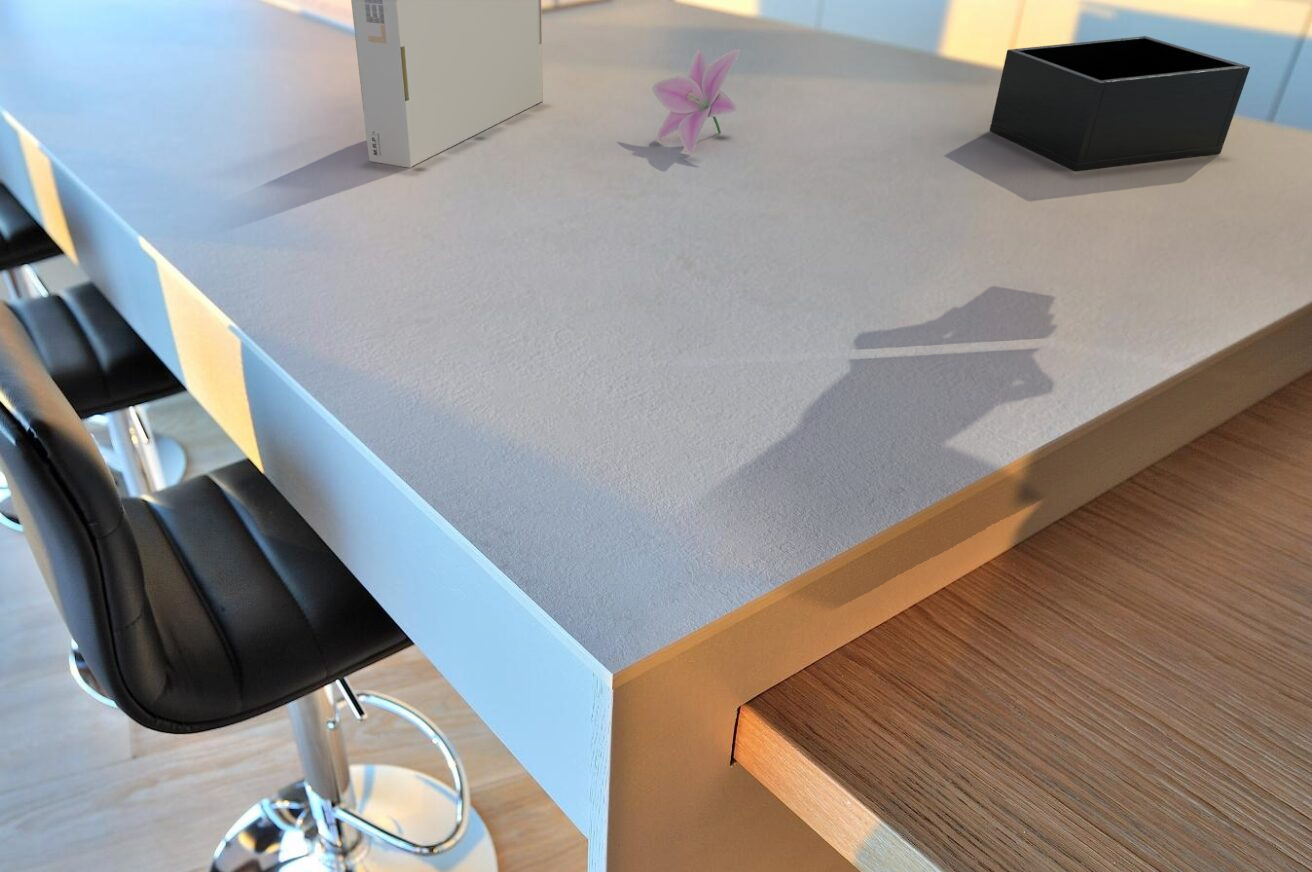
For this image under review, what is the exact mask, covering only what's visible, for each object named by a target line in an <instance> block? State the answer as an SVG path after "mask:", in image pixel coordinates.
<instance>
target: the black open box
mask: <svg viewBox="0 0 1312 872" xmlns="http://www.w3.org/2000/svg"><path fill="white" fill-rule="evenodd" d="M1250 69H1251V66H1249V65H1247V64H1244V63H1243V64H1242V63H1239V62H1235V61H1232V60H1229V59H1225V58H1222V57H1218V56H1215V55H1212V54H1209V53H1204V52H1201V51H1198V50H1194V49H1191V48H1188V47H1185V46H1180V45H1177V44H1173V43H1170V42H1168V41H1164V40H1160V39H1157V38H1154V37H1150V36H1146V35H1142V36H1132V37H1122V38H1111V39H1101V40H1092V41H1091V40H1090V41H1084V42H1083V41H1082V42H1081V41H1080V42H1070V43H1062V44H1051V45H1041V46H1031V47H1021V48H1020V47H1019V48H1012V49H1007V50H1006V55H1005V59H1004V63H1003V68H1002V73H1001V77H1000V83H999V86H998V91H997V95H996V100H995V103H994V104H995V106H994V109H993V114H992V117H991V123H990V127H989V131H990V132H992V133H994V134H996V135H998V136H999V137H1003V138H1004V139H1006V140H1008V141H1011V142H1013V143H1015V144H1017V145H1020V146H1021V147H1023V148H1025V149H1028V150H1030V151H1032V152H1034V153H1036V154H1038V155H1040V156H1042V157H1045V158H1047V159H1049V160H1051V161H1053V162H1055V163H1057V164H1059V165H1062V166H1064V167H1066V168H1068V169H1070V170H1072V171H1075V172H1078V171H1086V170H1095V169H1102V168H1109V167H1120V166H1121V167H1122V166H1128V165H1136V164H1143V163H1144V164H1145V163H1153V162H1160V161H1161V162H1162V161H1171V160H1177V159H1178V160H1179V159H1185V158H1194V157H1203V156H1210V155H1211V156H1212V155H1221V153H1222V150H1223V147H1224V144H1225V141H1226V138H1227V136H1228V134H1229V130H1230V127H1231V125H1232V121H1233V119H1234V116H1235V113H1236V110H1237V107H1238V104H1239V101H1240V99H1241V95H1242V92H1243V90H1244V87H1245V83H1246V81H1247V77H1248V74H1249V72H1250Z"/></svg>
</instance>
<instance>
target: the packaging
mask: <svg viewBox="0 0 1312 872" xmlns="http://www.w3.org/2000/svg"><path fill="white" fill-rule="evenodd" d="M350 2H351V11H352V20H353V28H354V36H355V37H354V38H355V45H356V46H355V47H356V54H357V63H358V65H357V66H358V73H359V75H358V76H359V84H360V91H361V92H360V93H361V102H362V111H363V118H364V127H365V129H364V130H365V137H366V146H367V154H368V162H371V163H377V164H383V165H390V166H397V167H403V168H407V169H408V168H409V169H411V168H413V167H414V166H416V165H418V164H421V162H424V161H426V160H427V159H429V158H432V157H434V156H436V155H438V154H440V153H442V152H444V151H446V150H448V149H449V148H452V147H454V146H456V145H459V143H462V142H463V141H466V140H468V139H470V138H472V137H473V136H476V135H477V134H480V133H481V132H484V131H486V130H488V129H490V128H492V127H494V126H496V125H498V124H500V123H501V122H504V121H506V120H508V119H510V118H511V117H514V116H517V115H518V114H520V113H522V112H524V111H525V110H528V109H530V108H532V107H534V106H536V105H538V104H540V103H542V102H544V71H543V70H544V69H543V66H544V65H543V63H544V62H543V61H544V60H543V23H542V22H543V21H542V20H543V18H542V14H543V13H542V0H350Z"/></svg>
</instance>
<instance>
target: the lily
mask: <svg viewBox="0 0 1312 872" xmlns="http://www.w3.org/2000/svg"><path fill="white" fill-rule="evenodd" d="M740 54H741V49H739V48H737V49H732V50H731V51H729V52H726V53H724V54H722V55H721V56H719V57H717V58H715V59H714V60H712V61H711V62H710V63H709V64H708V61H707V60H706V56H705V54H704V52H703V49H702V48H698V49H697V50H696V52H695V54H694V56H693V58H692V60H691V62H690V64H689V67H688V70H687V72H686V75H685V76H684V75H677V76H672V77H669V78H665V79H663V80H660V81H658V82H656V83H654V84H653V86H652V87H651V88H652V89H651V91H652V93H653V95H654V96H655V98H656V99H657V100H658V101H659V103H660V104H661V105H662V106H663V107H664V108H665V109H666V110H668V111H669V113H668V114H667V116H665V119H664V120H663V122H662V124H661V125H660V128H659V130H658V132H657V135H656V137H655V140H656V141H660V140H662V139H664V138H665V137H668V136H669V135H671V134H673V133H675V132H676V131H677V132H678V135H679V139H680V142H681V144H682V146H683V149H684V150H685V152H686V153H687V154H688V155H691V154H692V153H693V152H694V150H695V148H696V145H697V143H698V140H699V137H700V135H701V132H702V129H703V128H704V125H705V123H706V121H707V118H712V119H713V121H714V124H715V127H716V130H717V133H718V134H721V133H722V131H721V128H720V125H719V121H718V120H717V117H719V116H723V115H727V114H732V113H734V112H735V111H737V106H736V104H735V103H734V102H733V100H732V98H730V97H729V95H727V93H725V92H724V91H723V90H722V87H723V85H724V83H725V81H726V79H727V78H728V75H729V73H730V72H731V71H732V69H733V67H734V65H735V63H736V62H737V60H738V58H739V56H740Z"/></svg>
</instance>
